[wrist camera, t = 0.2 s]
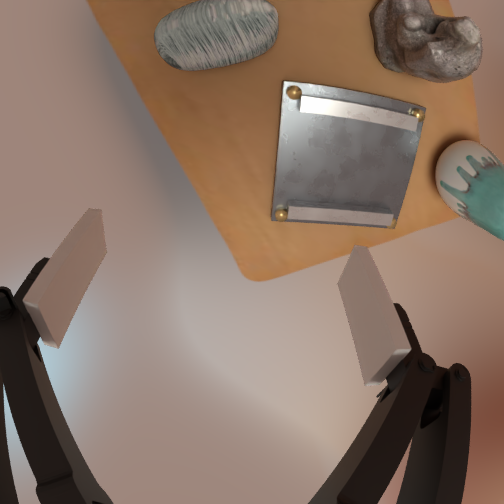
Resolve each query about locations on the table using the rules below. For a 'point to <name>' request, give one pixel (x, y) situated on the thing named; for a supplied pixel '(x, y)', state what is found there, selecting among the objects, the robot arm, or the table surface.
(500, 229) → the vase
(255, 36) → the grey rock
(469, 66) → the figurine
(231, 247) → the table surface
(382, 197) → the carrier
